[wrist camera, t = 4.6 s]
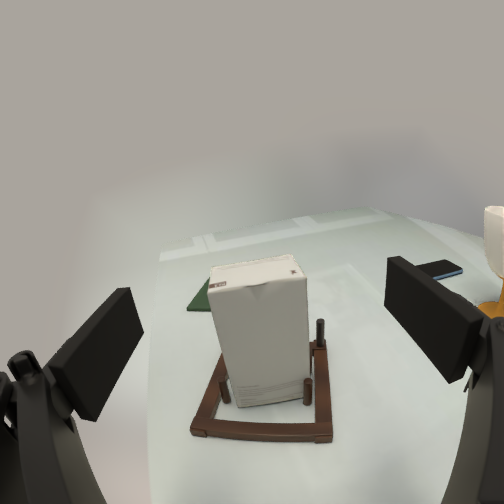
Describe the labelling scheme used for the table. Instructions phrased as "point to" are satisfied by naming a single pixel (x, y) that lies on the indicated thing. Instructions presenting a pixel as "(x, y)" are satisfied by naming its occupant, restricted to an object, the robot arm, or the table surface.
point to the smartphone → (440, 269)
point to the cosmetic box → (262, 328)
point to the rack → (271, 431)
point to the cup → (494, 254)
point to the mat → (200, 300)
